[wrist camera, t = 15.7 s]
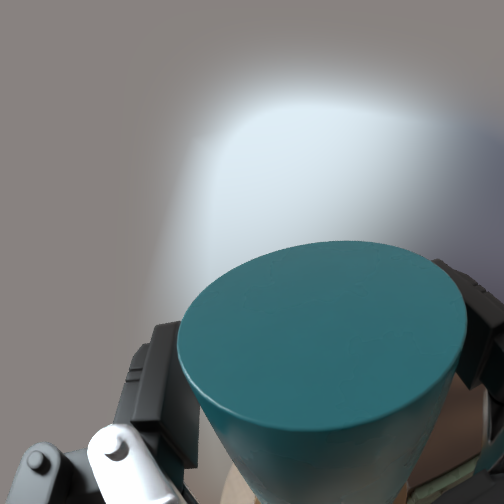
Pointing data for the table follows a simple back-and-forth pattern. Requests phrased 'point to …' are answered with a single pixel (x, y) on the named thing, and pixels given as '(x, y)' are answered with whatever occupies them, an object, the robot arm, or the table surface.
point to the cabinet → (451, 435)
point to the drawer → (442, 483)
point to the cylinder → (325, 367)
